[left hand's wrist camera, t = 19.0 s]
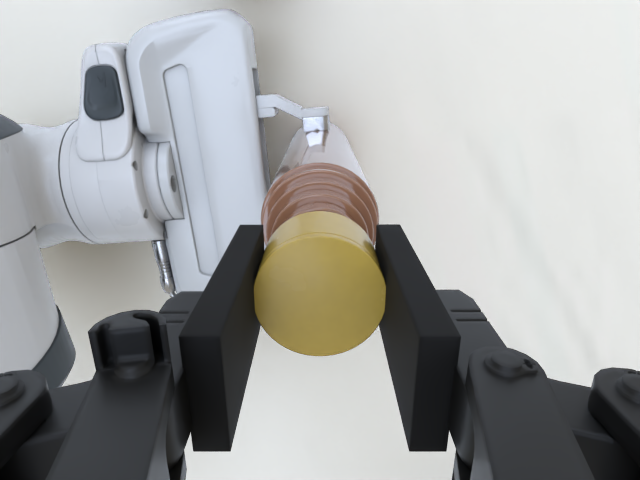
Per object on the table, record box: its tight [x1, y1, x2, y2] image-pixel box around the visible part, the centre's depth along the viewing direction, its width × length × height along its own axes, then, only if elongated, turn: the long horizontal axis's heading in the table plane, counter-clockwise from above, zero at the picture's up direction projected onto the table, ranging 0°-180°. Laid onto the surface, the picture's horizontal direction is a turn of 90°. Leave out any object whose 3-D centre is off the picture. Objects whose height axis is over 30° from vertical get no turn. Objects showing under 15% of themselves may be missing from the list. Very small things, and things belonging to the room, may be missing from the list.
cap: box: [254, 211, 386, 356], centre depth 13 cm, size 4×4×2 cm
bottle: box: [261, 123, 379, 246], centre depth 25 cm, size 5×5×26 cm
